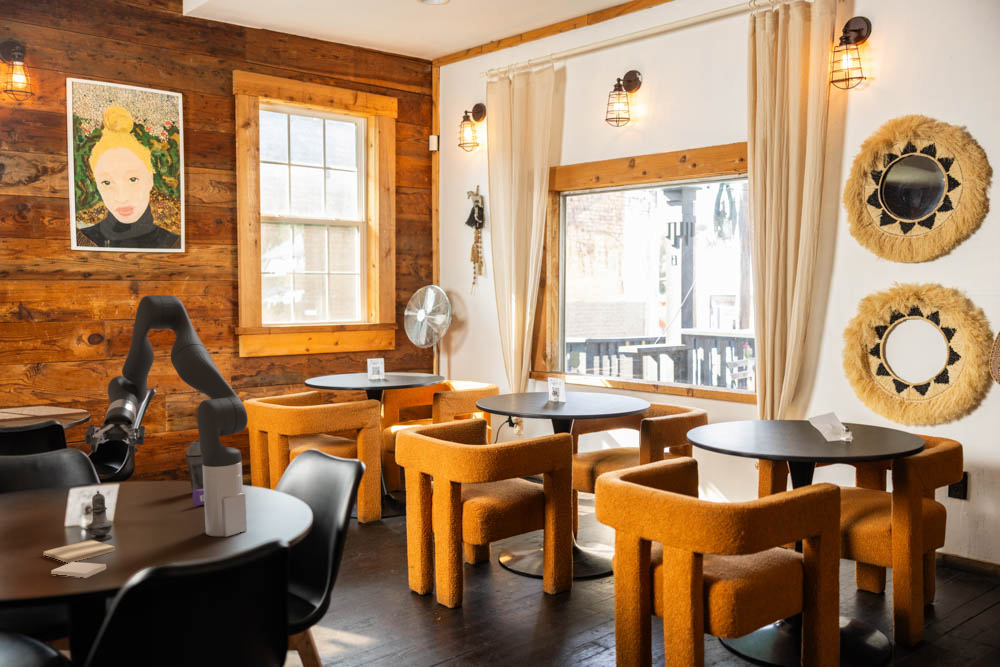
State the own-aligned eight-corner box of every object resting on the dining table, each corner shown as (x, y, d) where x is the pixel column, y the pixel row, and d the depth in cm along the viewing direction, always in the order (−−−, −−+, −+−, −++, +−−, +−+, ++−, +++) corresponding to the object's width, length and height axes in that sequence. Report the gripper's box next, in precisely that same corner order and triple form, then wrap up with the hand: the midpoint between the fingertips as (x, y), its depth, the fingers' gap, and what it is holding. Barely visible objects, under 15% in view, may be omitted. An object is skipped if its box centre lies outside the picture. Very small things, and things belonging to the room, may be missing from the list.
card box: (106, 571, 189) (106, 564, 189) (85, 580, 183) (85, 573, 183) (72, 568, 192) (72, 561, 192) (51, 577, 186) (51, 570, 186)
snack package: (194, 508, 240) (193, 490, 239) (191, 507, 241) (190, 489, 241) (231, 499, 248) (231, 482, 248) (228, 498, 250) (227, 481, 249)
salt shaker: (95, 543, 208) (92, 494, 207) (82, 540, 212) (80, 491, 211) (118, 537, 213) (115, 489, 212) (106, 534, 216) (103, 486, 216)
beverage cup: (186, 491, 260) (182, 425, 258) (211, 488, 263) (208, 423, 261) (188, 496, 253) (185, 428, 252) (214, 493, 256) (211, 426, 255)
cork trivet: (114, 550, 202) (114, 546, 202) (68, 563, 193) (67, 559, 193) (90, 543, 208) (89, 539, 208) (43, 555, 200) (43, 551, 200)
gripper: (92, 405, 234) (82, 436, 220) (148, 407, 238) (142, 437, 224) (91, 429, 237) (82, 461, 223) (147, 430, 241) (141, 462, 227)
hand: (112, 449), depth 223 cm, fingers open, 8 cm apart
